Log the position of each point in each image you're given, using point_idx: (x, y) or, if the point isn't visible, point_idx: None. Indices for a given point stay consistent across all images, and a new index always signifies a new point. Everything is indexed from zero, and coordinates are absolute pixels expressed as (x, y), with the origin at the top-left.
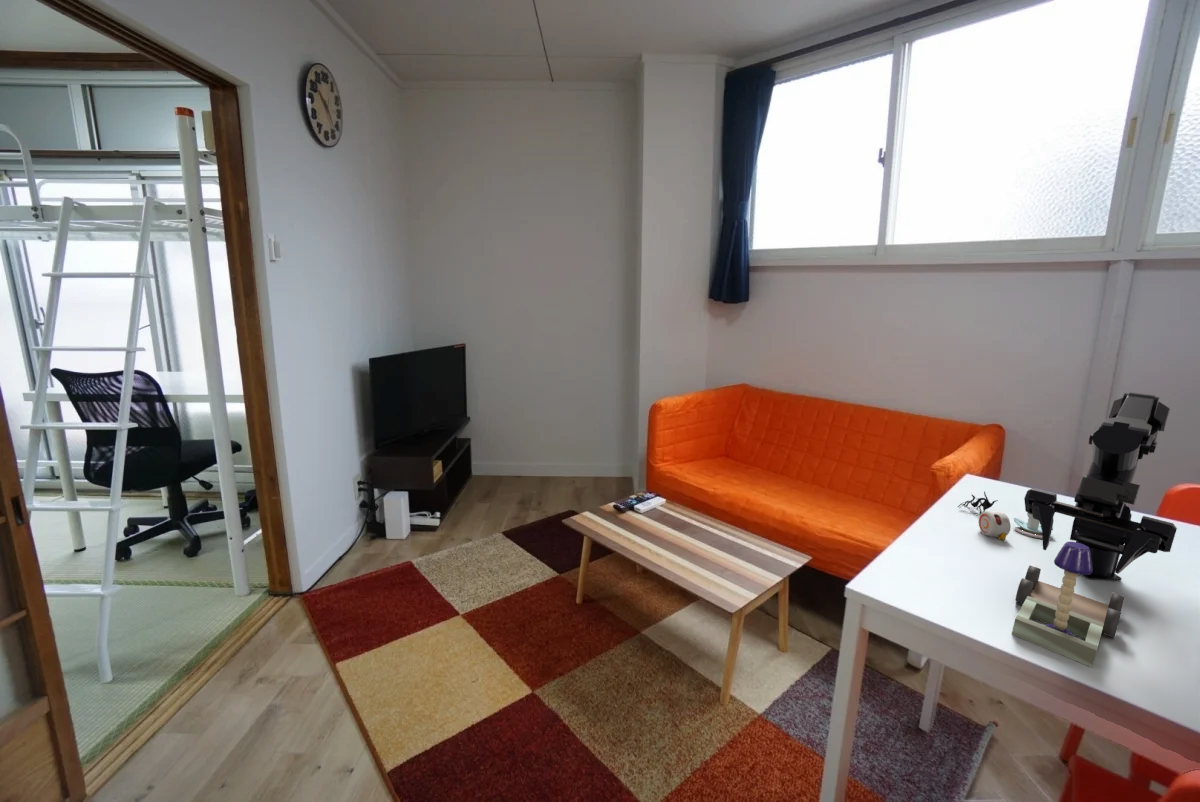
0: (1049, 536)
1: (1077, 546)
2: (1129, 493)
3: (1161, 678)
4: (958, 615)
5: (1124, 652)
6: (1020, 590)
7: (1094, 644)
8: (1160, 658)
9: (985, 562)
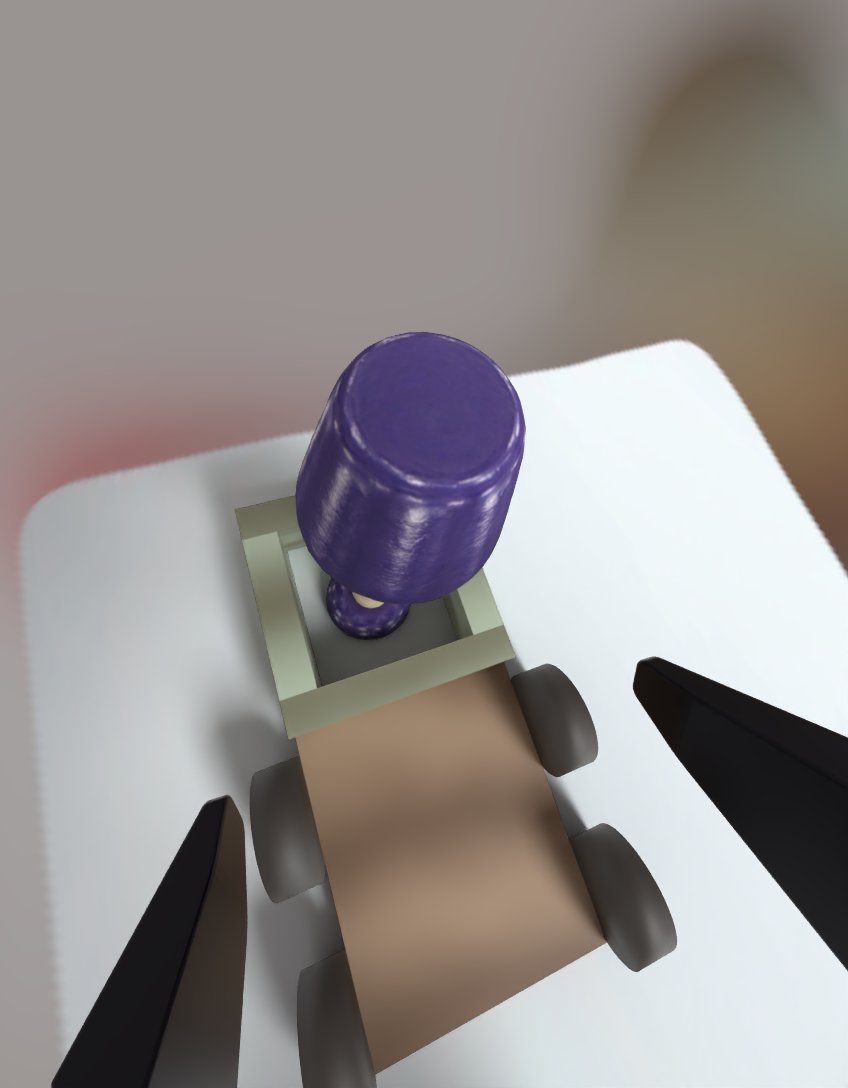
0: (742, 767)
1: (417, 366)
2: None
3: (108, 678)
4: (539, 445)
5: (223, 729)
6: (547, 669)
7: (251, 539)
8: (136, 827)
9: (776, 908)
